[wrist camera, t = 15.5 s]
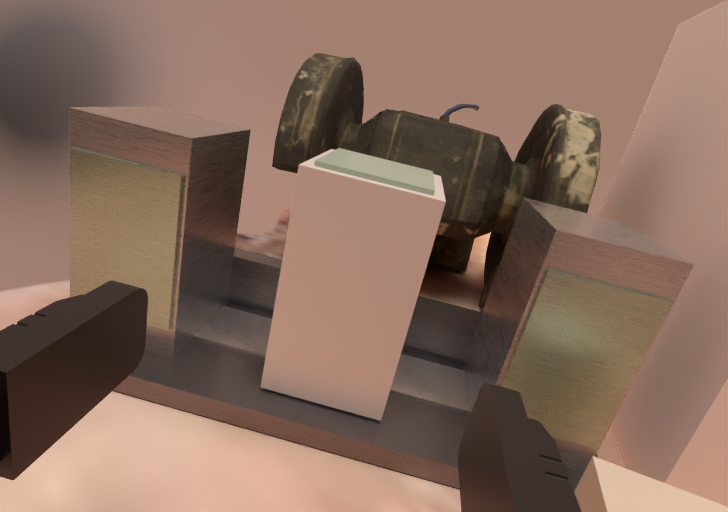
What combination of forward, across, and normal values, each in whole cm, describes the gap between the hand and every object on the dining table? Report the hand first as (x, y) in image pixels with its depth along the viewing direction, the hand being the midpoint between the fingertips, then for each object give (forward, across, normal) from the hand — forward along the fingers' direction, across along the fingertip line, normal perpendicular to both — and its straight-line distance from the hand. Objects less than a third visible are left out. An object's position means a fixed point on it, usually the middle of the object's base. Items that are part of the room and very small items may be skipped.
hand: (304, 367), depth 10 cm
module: (+10, 0, +7) cm, 12 cm away
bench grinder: (+30, -3, +8) cm, 31 cm away
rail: (+10, 0, +8) cm, 13 cm away
